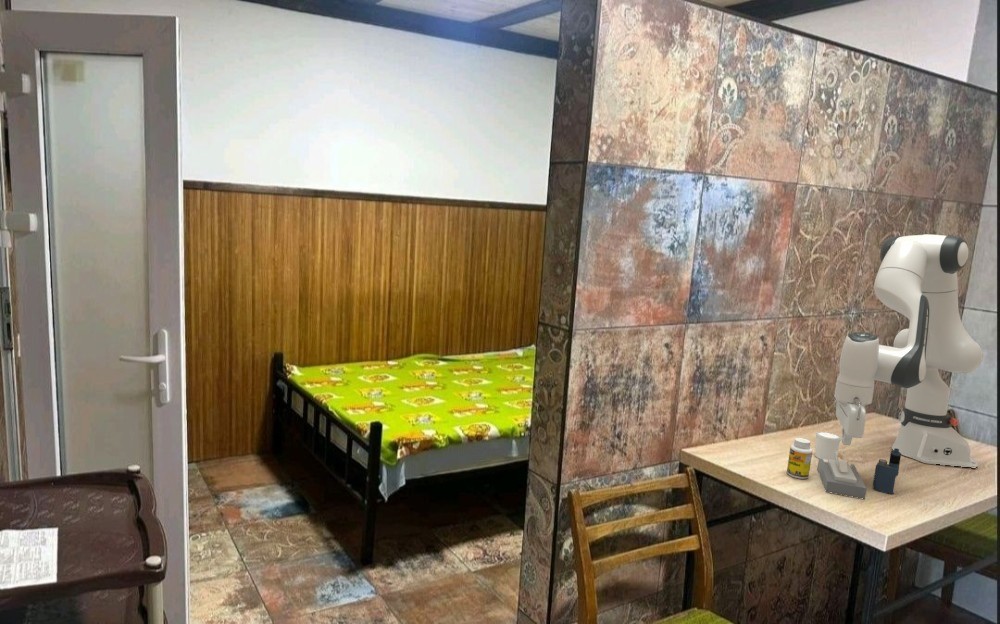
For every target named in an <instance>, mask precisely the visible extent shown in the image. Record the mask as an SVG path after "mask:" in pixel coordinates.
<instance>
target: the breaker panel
mask: <svg viewBox="0 0 1000 624" xmlns="http://www.w3.org/2000/svg"><path fill="white" fill-rule="evenodd" d="M846 463H847V470H848V472H841V471H840V469H839V466H838V465H837V462H836V460H832V459H828V460H827V459H819V458H818V461H817V467H816V468H817V472H818V474H819V477H820V481H821V482H822V485H824V486H823V488H825V489H824V491H825V490H826V491H825V493H827V492H832V493H831V494H833V493H837V494H836V495H838V494H842V495H841V496H844V495H847V496H846V497H849V496H853V497H852V498H854V497H858V498H857V499H860V498H863V499H862V500H865V499H866V492H867V486H866V485H865V483H864V481H863V479H862V477H861V476H860V473H859V472H858V470H857V467H856V465H855V464H852V463H850V462H848V461H846Z"/></svg>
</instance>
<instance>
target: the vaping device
mask: <svg viewBox="0 0 1000 624" xmlns="http://www.w3.org/2000/svg"><path fill="white" fill-rule="evenodd" d="M889 455H890V456H889V460H888V461H887V460H886V459H881V458H880V459H878V462H877V464H876V465H875V468H874V475H873V481H872V487H873V489H872V490H874V491H876V492H881V493H885V494H888V495H893V494H894V489H895V483H896V478H897V476H898V475H899V472H900V471H899V470H900V463H901V458H902V457H901V456H902V454H901V453H900V452H899V449H896V448H895V449H894V450H891V451H890V454H889Z"/></svg>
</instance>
